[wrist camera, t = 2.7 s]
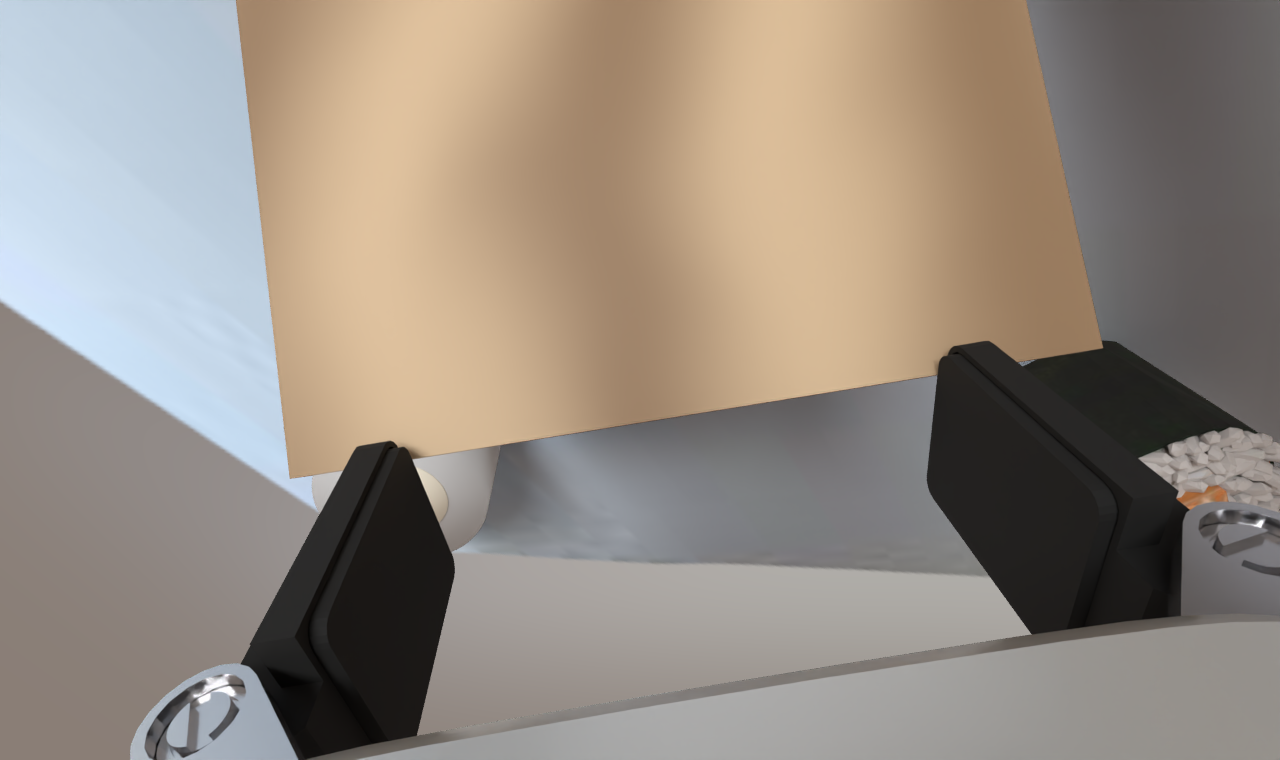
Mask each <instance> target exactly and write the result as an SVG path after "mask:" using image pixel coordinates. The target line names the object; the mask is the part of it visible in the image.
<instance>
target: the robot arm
mask: <svg viewBox="0 0 1280 760" xmlns="http://www.w3.org/2000/svg"><path fill="white" fill-rule="evenodd" d="M927 484H928V488H929V491H930V493H931V495H932V497H933V499H934V500H935V502H936V503H937V504H938V506H939V507H940V508H941V510H942V511H943V513H944V514H945V515H946V517H947V518H948V519H949V521H950V522H951V524H952V525H953V526H954V528H955V529H956V531H957V532H958V533H959V535H960V536H961V537H962V539H963V540H964V542H965V543H966V544H967V546H968V547H969V548H970V550H971V551H972V553H973V554H974V555H975V557H976V558H977V559H978V561H979V562H980V564H981V565H982V566H983V568H984V569H985V571H986V572H987V573H988V575H989V576H990V577H991V579H992V580H993V581H994V583H995V584H996V586H997V587H998V588H999V590H1000V591H1001V593H1002V594H1003V595H1004V597H1005V598H1006V599H1007V601H1008V602H1009V604H1010V605H1011V606H1012V608H1013V609H1014V611H1015V612H1016V613H1017V615H1018V616H1019V617H1020V619H1021V620H1022V622H1023V623H1024V624H1025V626H1026V627H1027V628H1028V630H1029V631H1030V633H1031V634H1032V635H1026V636H1019V637H1012V638H1006V639H1000V640H993V641H987V642H980V643H974V644H968V645H961V646H955V647H949V648H942V649H936V650H930V651H924V652H917V653H910V654H904V655H898V656H891V657H885V658H879V659H872V660H866V661H860V662H853V663H847V664H841V665H834V666H829V667H822V668H816V669H810V670H804V671H798V672H792V673H786V674H779V675H774V676H767V677H761V678H755V679H749V680H742V681H736V682H730V683H724V684H718V685H712V686H705V687H699V688H694V689H687V690H681V691H675V692H669V693H663V694H657V695H651V696H645V697H639V698H633V699H627V700H621V701H615V702H609V703H603V704H597V705H591V706H585V707H580V708H573V709H568V710H562V711H556V712H550V713H544V714H538V715H532V716H527V717H520V718H515V719H508V720H502V721H496V722H491V723H485V724H479V725H473V726H468V727H462V728H457V729H451V730H446V731H441V732H435V733H430V734H425V735H419V736H417V732H418V728H419V724H420V720H421V715H422V710H423V707H424V703H425V698H426V694H427V689H428V685H429V681H430V677H431V673H432V669H433V664H434V660H435V656H436V652H437V647H438V643H439V639H440V635H441V630H442V626H443V622H444V618H445V613H446V609H447V605H448V600H449V596H450V592H451V588H452V584H453V580H454V573H455V566H454V559H453V556H452V553H451V551H450V548H449V546H448V544H447V541H446V539H445V536H444V534H443V532H442V529H441V527H440V524H439V522H438V520H437V517H436V515H435V512H434V510H433V508H432V505H431V503H430V501H429V498H428V496H427V493H426V491H425V489H424V486H423V484H422V481H421V479H420V477H419V474H418V472H417V469H416V467H415V465H414V462H413V460H412V458H411V455H410V453H409V451H408V450H407V449H406V448H405V447H399V448H398V446H397V445H396V444H395V443H394V442H393V441H385V442H379V443H373V444H367V445H361V446H358V447H356V449H355V450H354V451H353V453H352V455H351V457H350V459H349V461H348V463H347V464H346V466H345V468H344V470H343V472H342V474H341V476H340V477H339V479H338V481H337V483H336V485H335V487H334V489H333V490H332V492H331V494H330V496H329V498H328V500H327V502H326V503H325V505H324V507H323V509H322V511H321V513H320V515H319V516H318V518H317V520H316V522H315V524H314V526H313V528H312V530H311V531H310V533H309V535H308V537H307V539H306V541H305V543H304V544H303V546H302V548H301V550H300V552H299V554H298V556H297V557H296V559H295V561H294V563H293V565H292V567H291V569H290V570H289V572H288V574H287V576H286V578H285V580H284V582H283V584H282V585H281V587H280V589H279V591H278V593H277V595H276V597H275V599H274V600H273V602H272V604H271V606H270V608H269V610H268V611H267V613H266V615H265V617H264V619H263V621H262V623H261V624H260V627H259V628H258V630H257V632H256V634H255V636H254V638H253V640H252V641H251V643H250V645H251V646H250V648H249V649H248V651H247V653H246V655H245V657H244V659H243V661H242V663H241V664H226V665H220V666H217V667H214V668H211V669H208V670H205V671H203V672H201V673H199V674H197V675H195V676H193V677H191V678H190V679H188V680H186V681H184V682H183V683H182V684H180V685H179V686H178V687H177V688H175V689H174V690H172V691H171V692H170V693H168V694H167V695H166V696H165V697H164V698H163V699H162V700H161V701H160V702H159V703H158V704H157V705H156V706H155V707H154V708H153V709H152V710H151V711H150V712H149V714H148V715H147V717H146V718H145V719H144V721H143V722H142V724H141V725H140V726H139V728H138V729H137V732H136V734H135V737H134V739H133V742H132V744H131V752H130V753H131V754H130V760H1280V513H1279V512H1276V511H1273V510H1269V509H1266V508H1263V507H1259V506H1256V505H1250V504H1244V503H1238V502H1209V503H1205V504H1201V505H1197V506H1195V507H1194V508H1192V509H1191V510H1190V509H1188V508H1187V507H1186V506H1185V505H1183V504H1182V503H1181V502H1180V501H1178V500H1177V499H1176V498H1177V495H1178V492H1179V491H1178V490H1177V489H1176V488H1175V487H1173V486H1172V485H1171V484H1170V483H1168V482H1167V481H1166V480H1165V479H1163V478H1162V477H1161V476H1160V475H1158V474H1157V473H1156V472H1155V471H1153V470H1152V469H1151V468H1150V467H1148V466H1147V465H1146V464H1144V463H1143V462H1142V461H1141V460H1139V459H1138V458H1137V457H1136V456H1134V455H1133V454H1132V453H1131V452H1129V451H1128V450H1127V449H1126V448H1124V447H1123V446H1122V445H1121V444H1119V443H1118V442H1117V441H1116V440H1114V439H1113V438H1112V437H1111V436H1109V435H1108V434H1107V433H1106V432H1104V431H1103V430H1102V429H1100V428H1099V427H1098V426H1097V425H1095V424H1094V423H1093V422H1092V421H1090V420H1089V419H1088V418H1087V417H1085V416H1084V415H1083V414H1082V413H1080V412H1079V411H1078V410H1077V409H1075V408H1074V407H1073V406H1072V405H1070V404H1069V403H1068V402H1067V401H1065V400H1064V399H1063V398H1061V397H1060V396H1059V395H1058V394H1056V393H1055V392H1054V391H1053V390H1051V389H1050V388H1049V387H1048V386H1046V385H1045V384H1044V383H1043V382H1041V381H1040V380H1039V379H1038V378H1036V377H1035V376H1034V375H1033V374H1031V373H1030V372H1029V371H1028V370H1026V369H1025V368H1024V367H1023V366H1021V365H1020V364H1019V363H1017V362H1016V361H1015V360H1014V359H1012V358H1011V357H1010V356H1009V355H1007V354H1006V353H1005V352H1004V351H1002V350H1001V349H1000V348H999V347H997V346H996V345H995V344H994V343H992V342H990V341H981V342H975V343H969V344H963V345H957V346H953V347H952V348H951V349H950V350H949V352H948V356H943V357H942V358H941V359H940V361H939V366H938V376H937V385H936V395H935V404H934V414H933V423H932V433H931V442H930V452H929V461H928V471H927Z"/></svg>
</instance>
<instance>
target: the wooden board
mask: <svg viewBox="0 0 1280 760" xmlns="http://www.w3.org/2000/svg"><path fill="white" fill-rule="evenodd" d="M236 5H237V14H238V23H239V32H240V41H241V50H242V58H243V67H244V76H245V85H246V94H247V103H248V112H249V120H250V129H251V138H252V147H253V156H254V165H255V174H256V183H257V191H258V200H259V209H260V218H261V227H262V236H263V245H264V254H265V262H266V271H267V280H268V289H269V298H270V307H271V316H272V324H273V333H274V342H275V351H276V360H277V369H278V378H279V387H280V395H281V404H282V413H283V422H284V431H285V440H286V449H287V458H288V466H289V475H290V479H291V478H298V477H306V476H313V475H319V474H325V473H331V472H338V471H343V470H344V468H345V466H346V464H347V463H348V461H349V459H350V457H351V455H352V453H353V451H354V450H355V449H356V447H358V446H361V445H367V444H373V443H379V442H385V441H393V442H394V443H395V444H396V445H397V446H398V448H399V447H405V448H406V449H407V450H408V451H409V453H410V455H411V458H412V459H419V458H425V457H431V456H437V455H443V454H450V453H456V452H462V451H468V450H475V449H481V448H487V447H493V446H500V445H506V444H512V443H518V442H524V441H531V440H537V439H543V438H549V437H556V436H562V435H568V434H574V433H581V432H587V431H593V430H599V429H605V428H612V427H618V426H624V425H630V424H637V423H643V422H649V421H655V420H662V419H668V418H674V417H680V416H687V415H693V414H699V413H705V412H711V411H718V410H724V409H730V408H736V407H743V406H749V405H755V404H761V403H768V402H774V401H780V400H786V399H792V398H799V397H805V396H811V395H817V394H824V393H830V392H836V391H842V390H849V389H855V388H861V387H867V386H873V385H880V384H886V383H892V382H898V381H905V380H911V379H917V378H923V377H930V376H936V375H938V366H939V361H940V359H941V358H942V357H943V356H948V352H949V350H950V349H951V348H952V347H953V346H957V345H963V344H969V343H975V342H981V341H990V342H992V343H994V344H995V345H996V346H997V347H999V348H1000V349H1001V350H1002V351H1004V352H1005V353H1006V354H1007V355H1009V356H1010V357H1011V358H1012V359H1014V360H1015V361H1016V362H1023V361H1029V360H1035V359H1042V358H1048V357H1054V356H1060V355H1067V354H1073V353H1079V352H1085V351H1090V350H1096V349H1101V348H1103V345H1102V341H1101V336H1100V332H1099V327H1098V323H1097V318H1096V314H1095V309H1094V305H1093V300H1092V296H1091V291H1090V287H1089V282H1088V278H1087V273H1086V269H1085V264H1084V260H1083V255H1082V251H1081V246H1080V242H1079V237H1078V233H1077V228H1076V224H1075V219H1074V215H1073V210H1072V206H1071V201H1070V197H1069V192H1068V188H1067V183H1066V179H1065V174H1064V170H1063V165H1062V161H1061V156H1060V151H1059V147H1058V142H1057V138H1056V133H1055V129H1054V124H1053V120H1052V115H1051V111H1050V106H1049V102H1048V97H1047V93H1046V88H1045V84H1044V79H1043V75H1042V70H1041V66H1040V61H1039V57H1038V52H1037V48H1036V43H1035V39H1034V34H1033V30H1032V25H1031V21H1030V16H1029V12H1028V7H1027V3H1026V0H236Z"/></svg>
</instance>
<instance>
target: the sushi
mask: <svg viewBox="0 0 1280 760" xmlns="http://www.w3.org/2000/svg"><path fill="white" fill-rule="evenodd" d="M1102 345H1103V348H1101V349H1096V350H1090V351H1085V352H1079V353H1073V354H1067V355H1060V356H1054V357H1048V358H1042V359H1037V360H1035V361H1033V362H1031V363H1029V364H1027V365H1025V366H1023V367H1024V368H1025V369H1026V370H1028V371H1029V372H1030V373H1031V374H1033V375H1034V376H1035V377H1036V378H1038V379H1039V380H1040V381H1041V382H1043V383H1044V384H1045V385H1046V386H1048V387H1049V388H1050V389H1051V390H1053V391H1054V392H1055V393H1056V394H1058V395H1059V396H1060V397H1061V398H1063V399H1064V400H1065V401H1067V402H1068V403H1069V404H1070V405H1072V406H1073V407H1074V408H1075V409H1077V410H1078V411H1079V412H1080V413H1082V414H1083V415H1084V416H1085V417H1087V418H1088V419H1089V420H1090V421H1092V422H1093V423H1094V424H1095V425H1097V426H1098V427H1099V428H1100V429H1102V430H1103V431H1104V432H1106V433H1107V434H1108V435H1109V436H1111V437H1112V438H1113V439H1114V440H1116V441H1117V442H1118V443H1119V444H1121V445H1122V446H1123V447H1124V448H1126V449H1127V450H1128V451H1129V452H1131V453H1132V454H1133V455H1134V456H1136V457H1137V458H1138V459H1139V460H1141V461H1142V462H1143V463H1144V464H1146V465H1147V466H1148V467H1150V468H1151V469H1152V470H1153V471H1155V472H1156V473H1157V474H1158V475H1160V476H1161V477H1162V478H1163V479H1165V480H1166V481H1167V482H1168V483H1170V484H1171V485H1172V486H1173V487H1175V488H1176V489H1177V490H1178V491H1179V492H1178V495H1177V498H1176V499H1177V500H1178V501H1180V502H1181V503H1182V504H1183V505H1185V506H1186V507H1187V508H1188V509H1190V510H1191V509H1192V508H1194V507H1195V506H1197V505H1201V504H1205V503H1209V502H1238V503H1244V504H1250V505H1256V506H1259V507H1263V508H1266V509H1269V510H1273V511H1276V512H1279V508H1280V468H1279V467H1274V462H1280V443H1277V442H1272V441H1273V437H1271V436H1268V435H1266V434H1264V433H1258V432H1256V431H1255V430H1253V429H1252V428H1250V427H1248V426H1247V425H1245V424H1244V423H1242V422H1241V421H1239V420H1237V419H1236V418H1234V417H1233V416H1231V415H1230V414H1228V413H1227V412H1225V411H1223V410H1222V409H1220V408H1219V407H1217V406H1216V405H1214V404H1212V403H1211V402H1209V401H1208V400H1206V399H1205V398H1203V397H1201V396H1200V395H1198V394H1197V393H1195V392H1194V391H1192V390H1191V389H1189V388H1187V387H1186V386H1184V385H1183V384H1181V383H1180V382H1178V381H1176V380H1175V379H1173V378H1172V377H1170V376H1169V375H1167V374H1165V373H1164V372H1162V371H1161V370H1159V369H1158V368H1156V367H1155V366H1153V365H1151V364H1150V363H1148V362H1147V361H1145V360H1144V359H1142V358H1140V357H1139V356H1137V355H1136V354H1134V353H1133V352H1131V351H1129V350H1128V349H1126V348H1125V347H1123V346H1122V345H1120V344H1119V343H1117V342H1112V341H1102Z"/></svg>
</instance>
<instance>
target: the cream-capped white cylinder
mask: <svg viewBox="0 0 1280 760" xmlns="http://www.w3.org/2000/svg"><path fill="white" fill-rule="evenodd" d="M500 449H501V445H500V446H493V447H487V448H481V449H475V450H468V451H462V452H456V453H450V454H443V455H437V456H431V457H425V458H419V459H412V460H413V462H414V465H415V467H416V469H417V472H418V474H419V477H420V479H421V481H422V484H423V486H424V489H425V491H426V493H427V496H428V498H429V501H430V503H431V505H432V508H433V510H434V512H435V515H436V517H437V520H438V522H439V524H440V527H441V529H442V532H443V534H444V536H445V539H446V541H447V544H448V546H449V548H450V551H451V552H452V551H454V550H457V549H458V548H460V547H462V546H463V545H465V544H466V543H468V542H469V541H470V540H471V539H472V538H473V537H474V536H475V535H476V534H477V533H478V531H479V530H480V528H481V527H482V525H483V523H484V521H485V519H486V515H487V511H488V506H489V501H490V496H491V492H492V487H493V482H494V477H495V472H496V468H497V463H498V458H499V453H500ZM342 472H343V471H338V472H331V473H325V474H319V475H313V478H312V494H313V498H314V502H315V505H316V507H317V509H318V511H319V513H321V511H322V509H323V507H324V505H325V503H326V502H327V500H328V498H329V496H330V494H331V492H332V490H333V489H334V487H335V485H336V483H337V481H338V479H339V477H340V476H341V474H342Z"/></svg>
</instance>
